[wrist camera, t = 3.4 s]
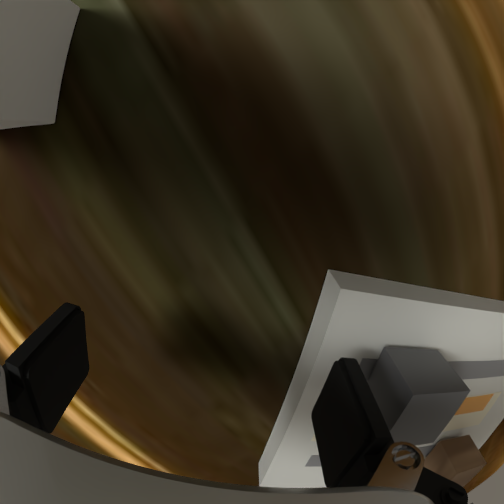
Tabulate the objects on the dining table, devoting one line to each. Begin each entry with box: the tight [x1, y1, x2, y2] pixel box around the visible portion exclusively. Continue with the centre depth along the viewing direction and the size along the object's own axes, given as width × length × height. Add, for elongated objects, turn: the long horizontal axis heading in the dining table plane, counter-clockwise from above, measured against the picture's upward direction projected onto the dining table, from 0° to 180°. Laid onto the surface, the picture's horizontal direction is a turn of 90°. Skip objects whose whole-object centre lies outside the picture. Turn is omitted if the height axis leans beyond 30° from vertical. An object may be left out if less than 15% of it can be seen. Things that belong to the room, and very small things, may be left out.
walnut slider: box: [423, 435, 487, 487], centre depth 13 cm, size 3×3×3 cm
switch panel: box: [259, 269, 504, 488], centre depth 14 cm, size 14×18×2 cm
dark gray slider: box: [367, 347, 471, 445], centre depth 10 cm, size 3×3×3 cm
